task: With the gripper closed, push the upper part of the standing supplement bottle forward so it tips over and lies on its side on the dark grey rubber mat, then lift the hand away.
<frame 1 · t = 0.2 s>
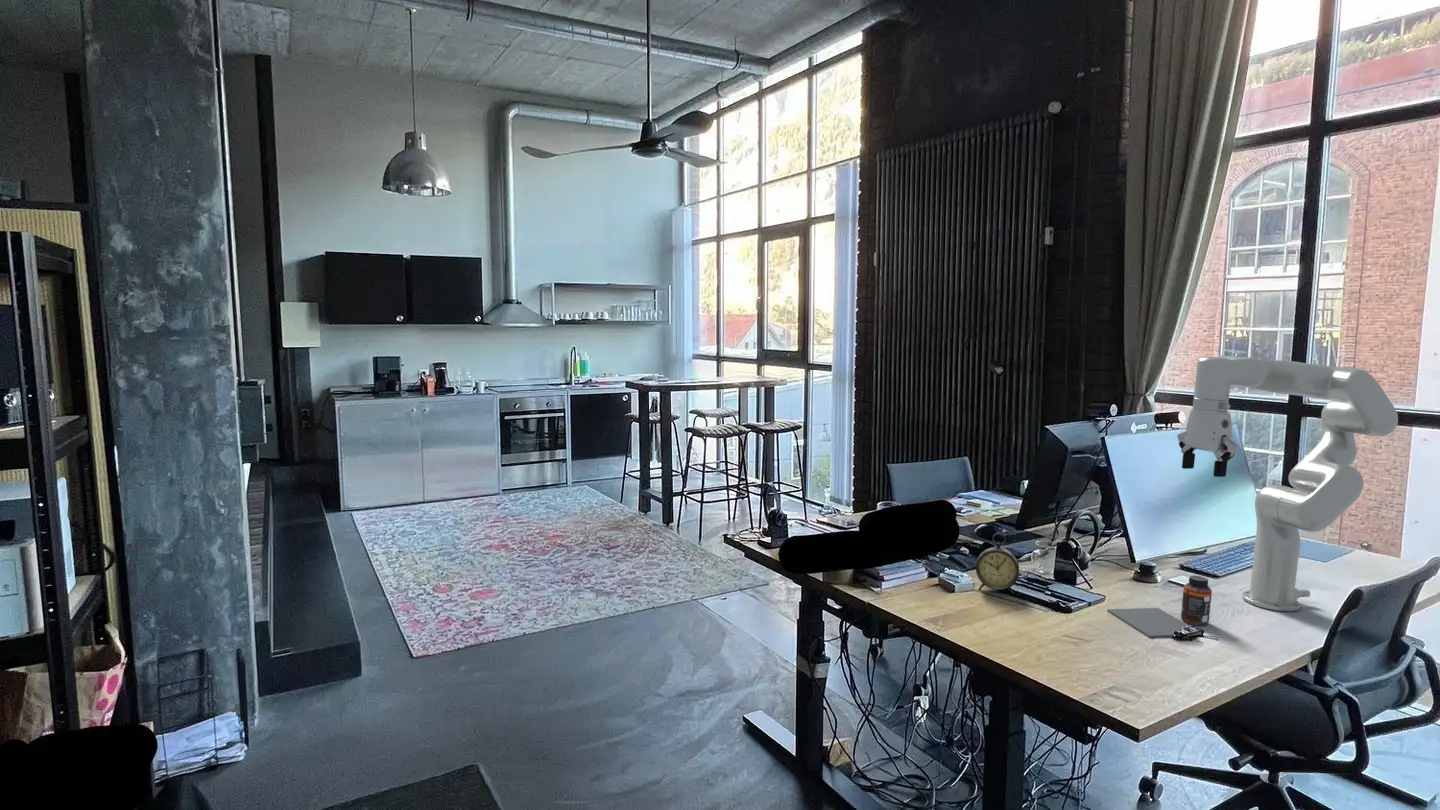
hand: (1203, 472, 197), 36 cm above the table, tool pointing down, fingers open, 9 cm apart
supplement bottle: (1194, 622, 191), on the table
rubber mat: (1153, 623, 190), on the table
alarm clock: (995, 591, 210), on the table
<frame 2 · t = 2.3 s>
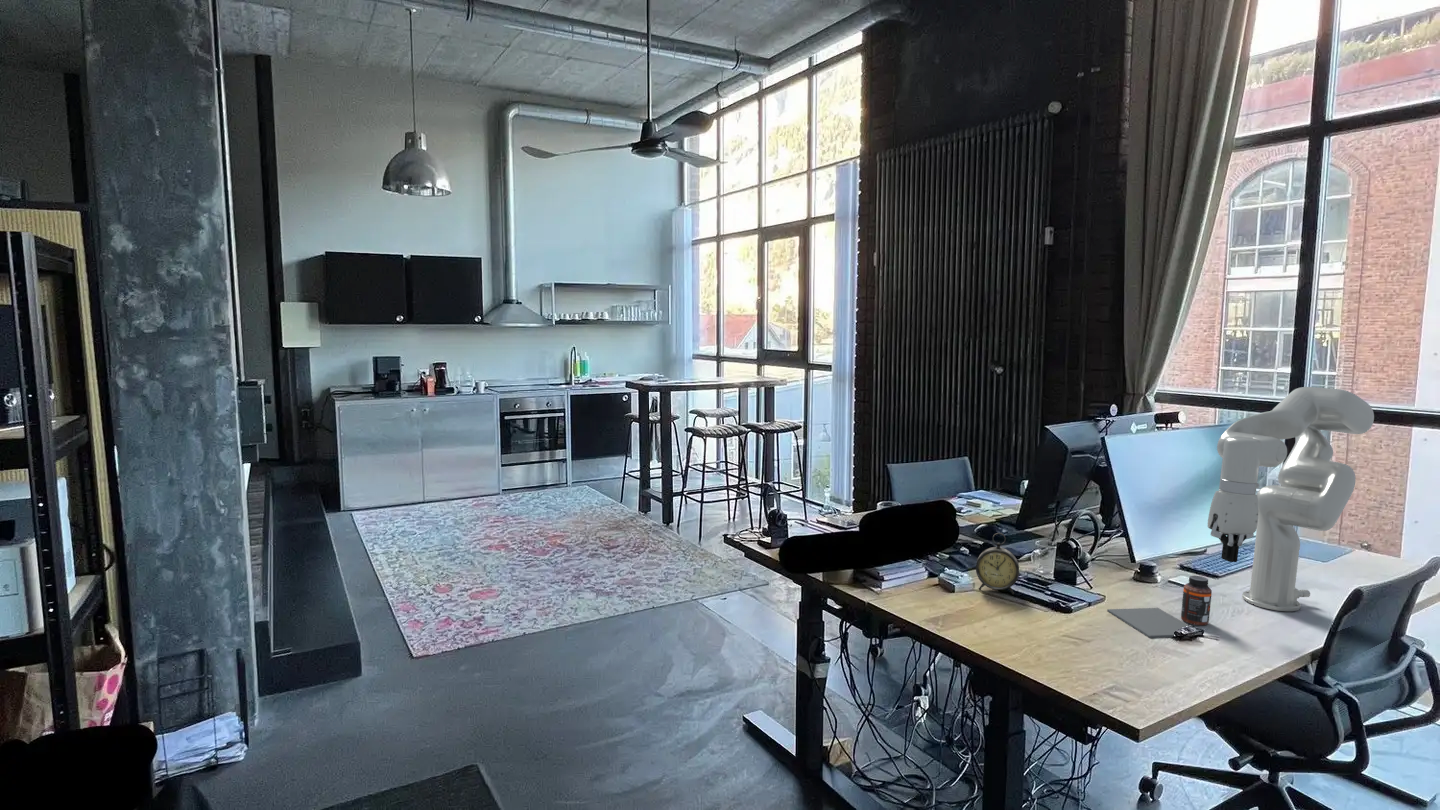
hand: (1229, 560, 190), 16 cm above the table, tool pointing down, fingers closed
nothing on the table moved.
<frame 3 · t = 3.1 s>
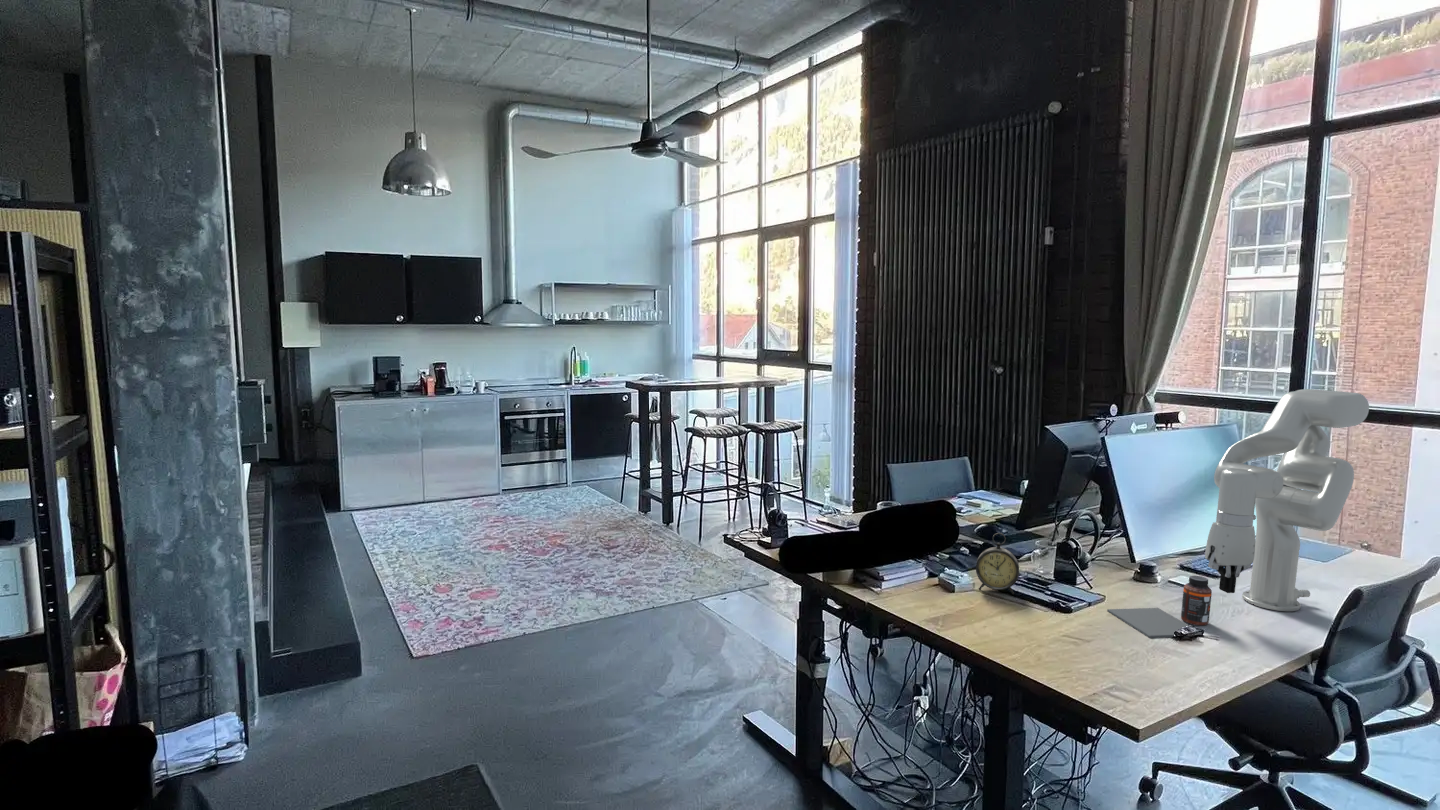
hand: (1226, 591, 191), 8 cm above the table, tool pointing down, fingers closed
nothing on the table moved.
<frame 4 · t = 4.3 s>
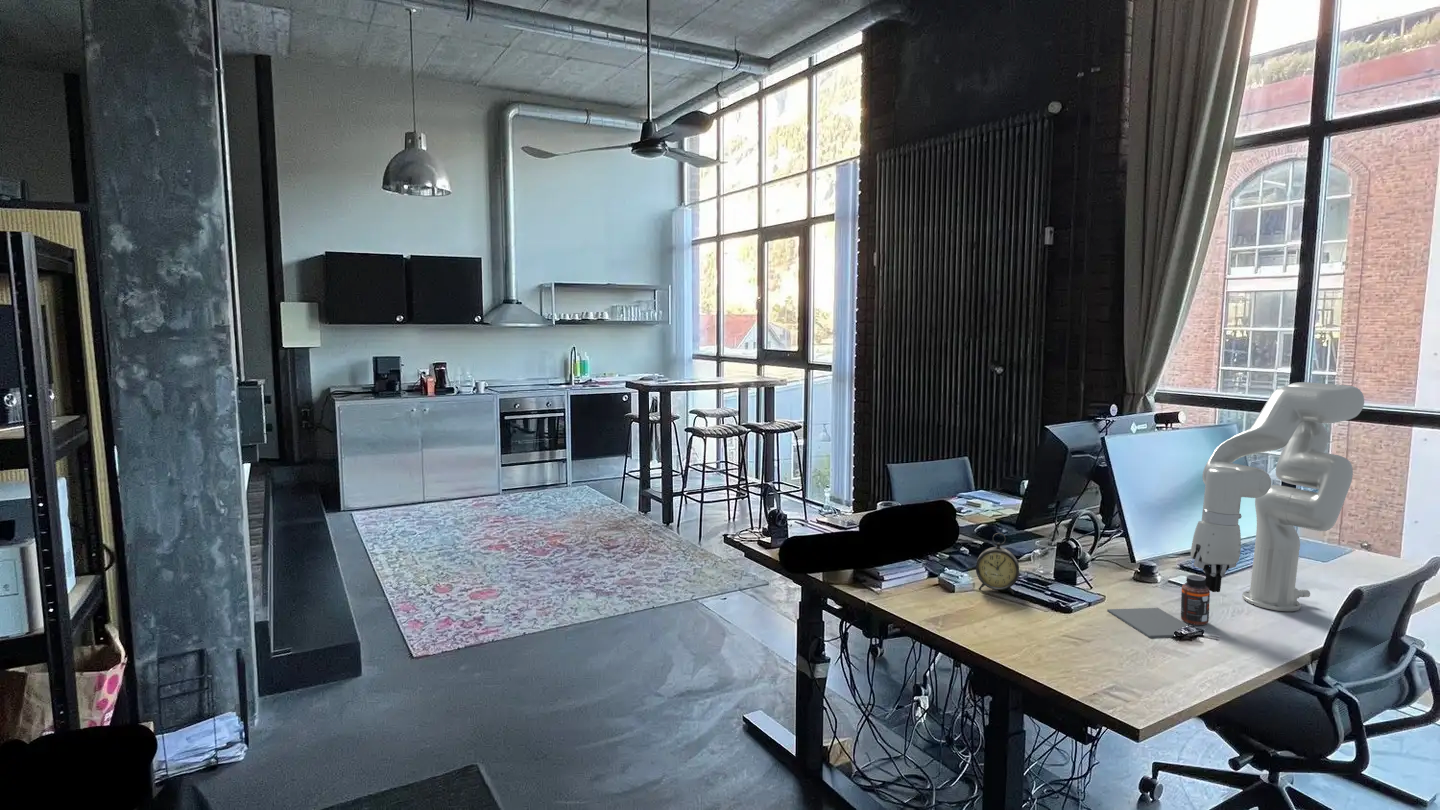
hand: (1212, 590, 190), 8 cm above the table, tool pointing down, fingers closed
supplement bottle: (1194, 621, 191), on the table, touching gripper
everything else where it was.
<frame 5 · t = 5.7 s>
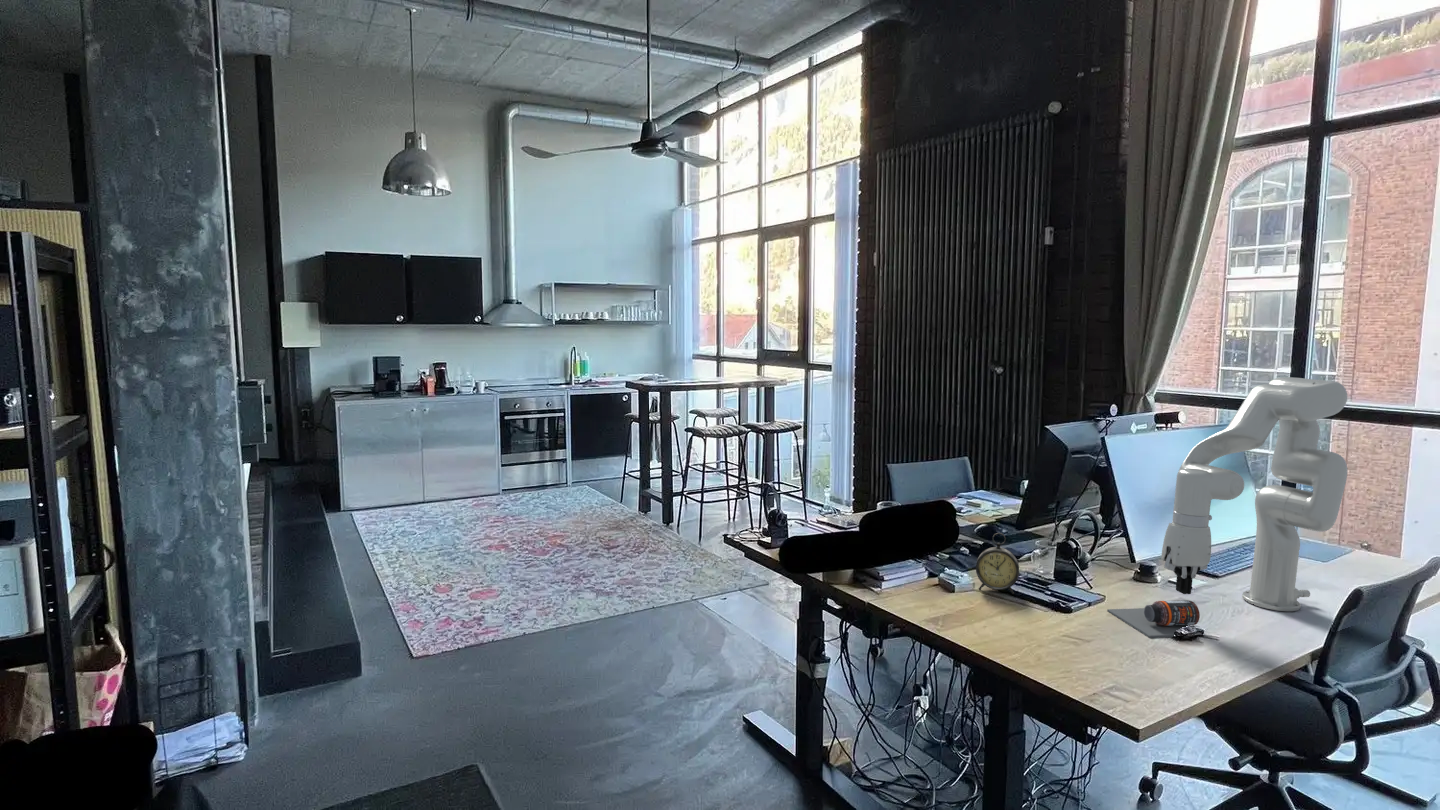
hand: (1183, 592, 190), 8 cm above the table, tool pointing down, fingers closed
supplement bottle: (1193, 612, 188), point 3 cm above the table, touching rubber mat
everything else where it was.
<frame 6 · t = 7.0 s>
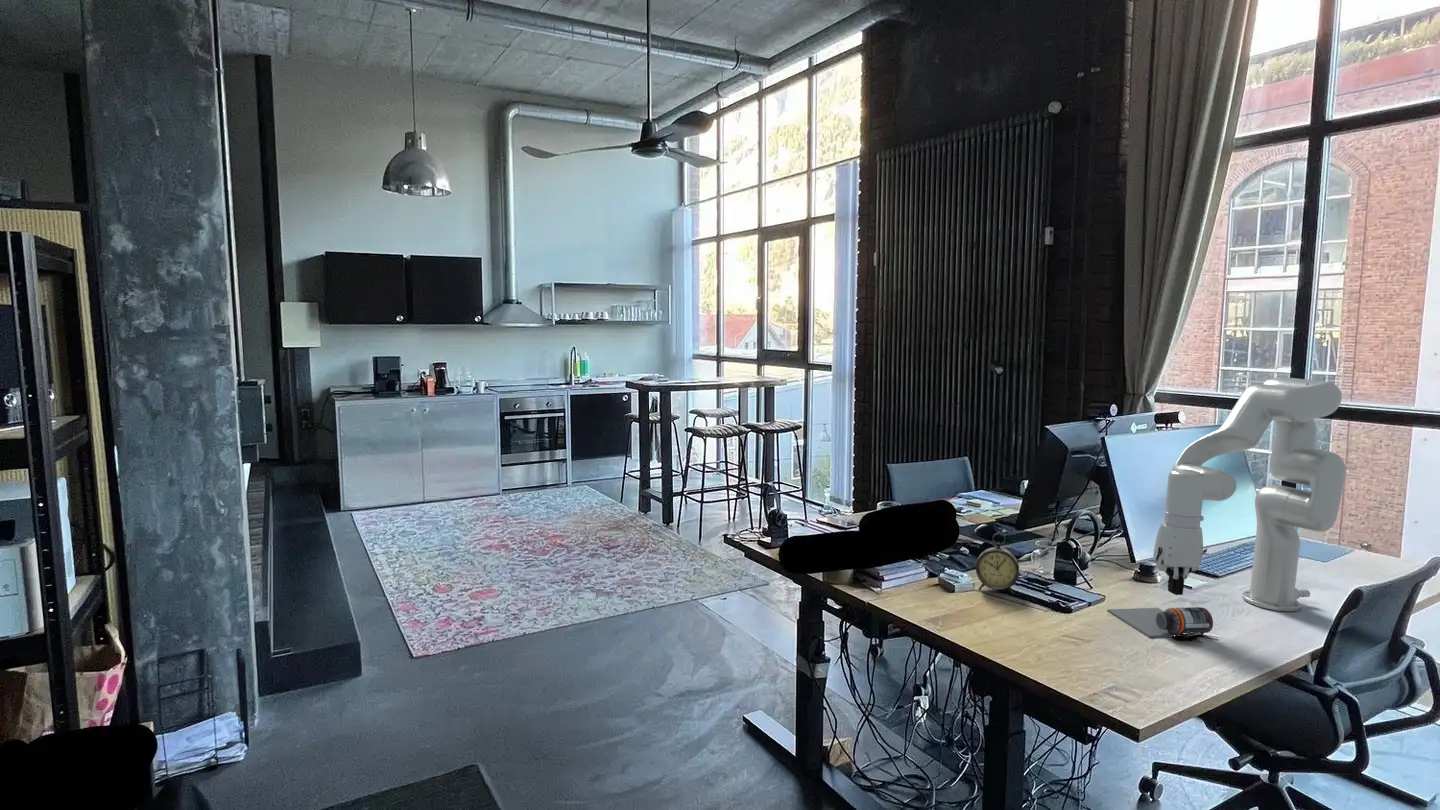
hand: (1175, 592, 190), 8 cm above the table, tool pointing down, fingers closed
supplement bottle: (1206, 620, 183), point 3 cm above the table, touching rubber mat
everything else where it was.
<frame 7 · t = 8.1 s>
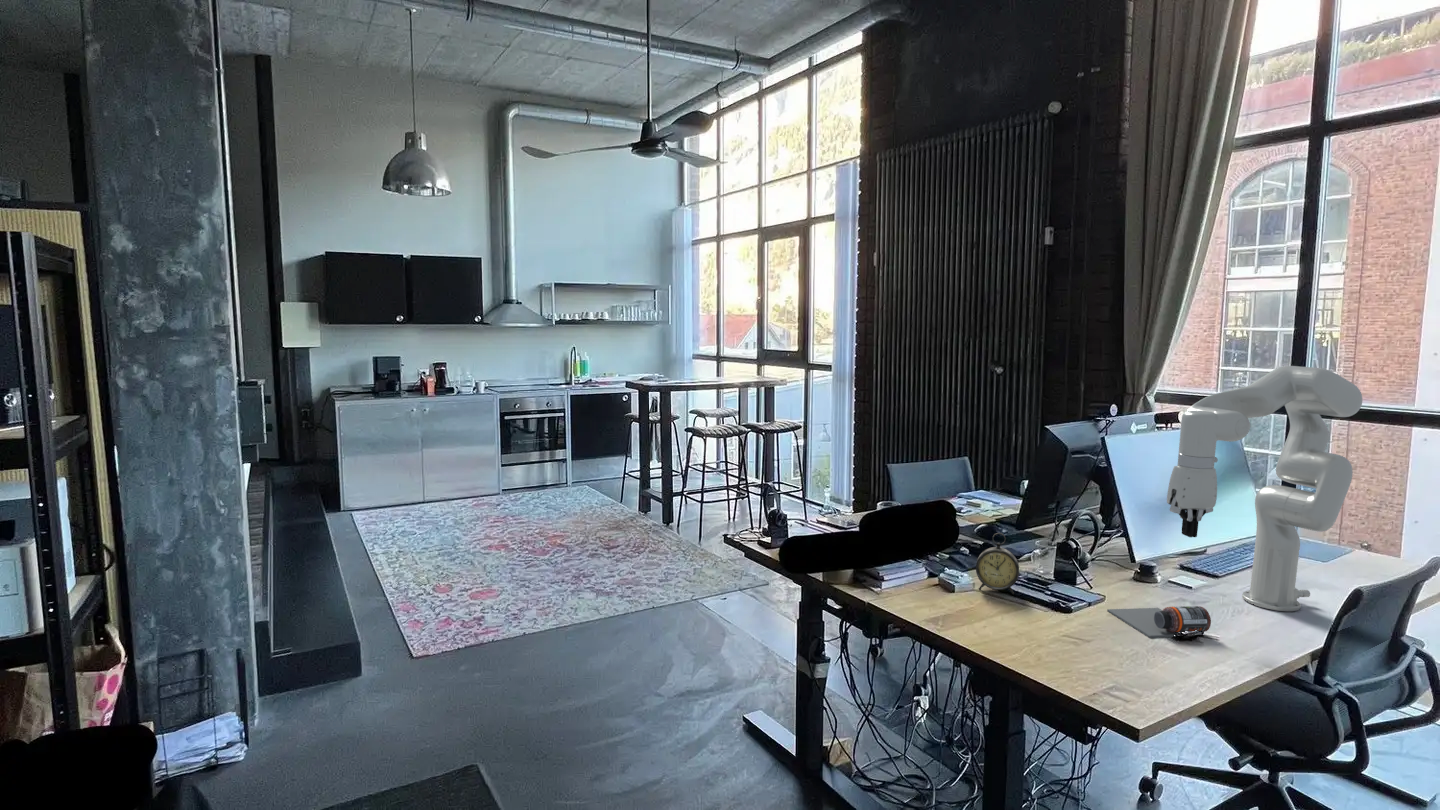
hand: (1189, 535, 188), 22 cm above the table, tool pointing down, fingers closed
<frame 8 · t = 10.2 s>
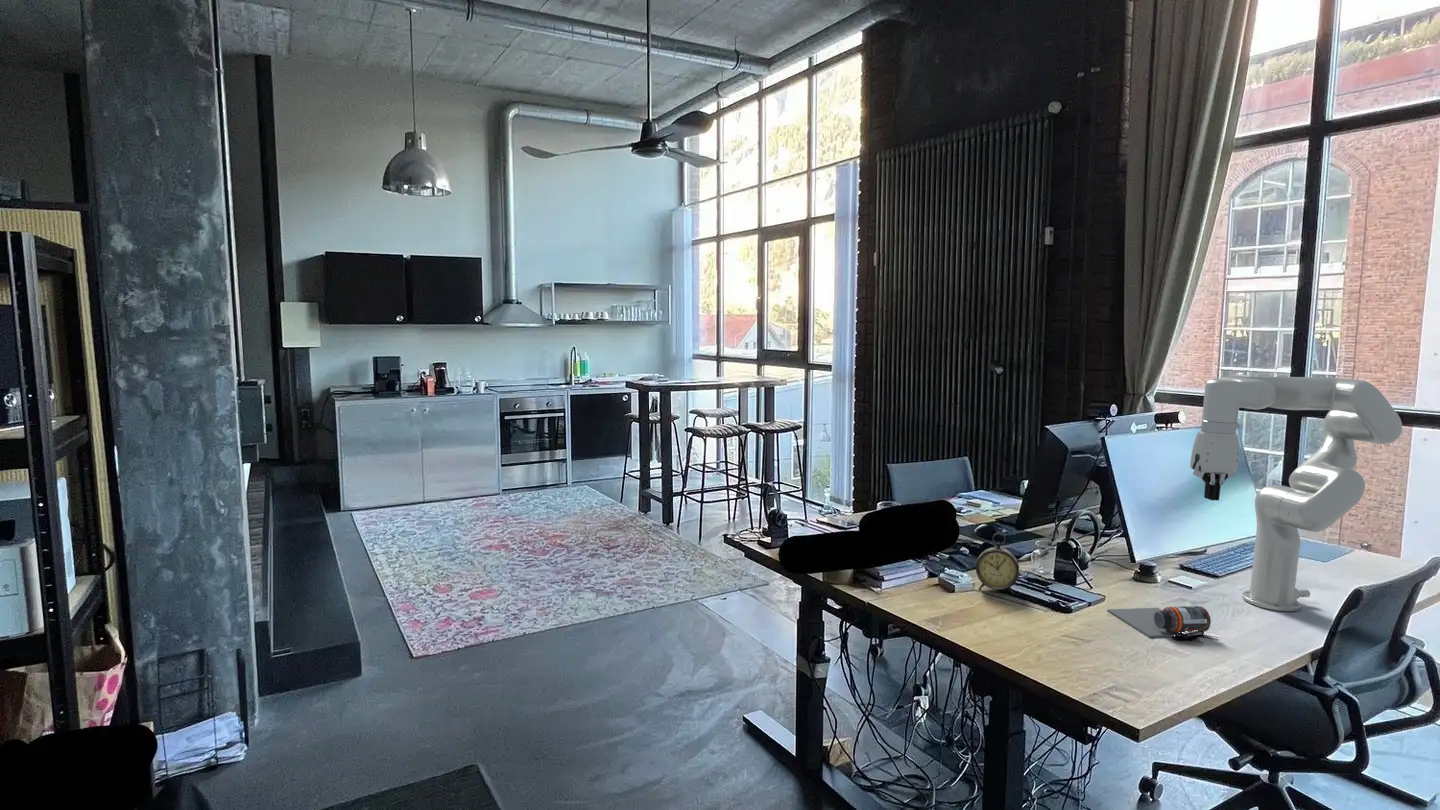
hand: (1211, 499, 196), 29 cm above the table, tool pointing down, fingers closed
nothing on the table moved.
at the end: supplement bottle tilted 91°; supplement bottle touching rubber mat; supplement bottle inside the target area (6.7 cm from its centre), point 3.5 cm above the table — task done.
